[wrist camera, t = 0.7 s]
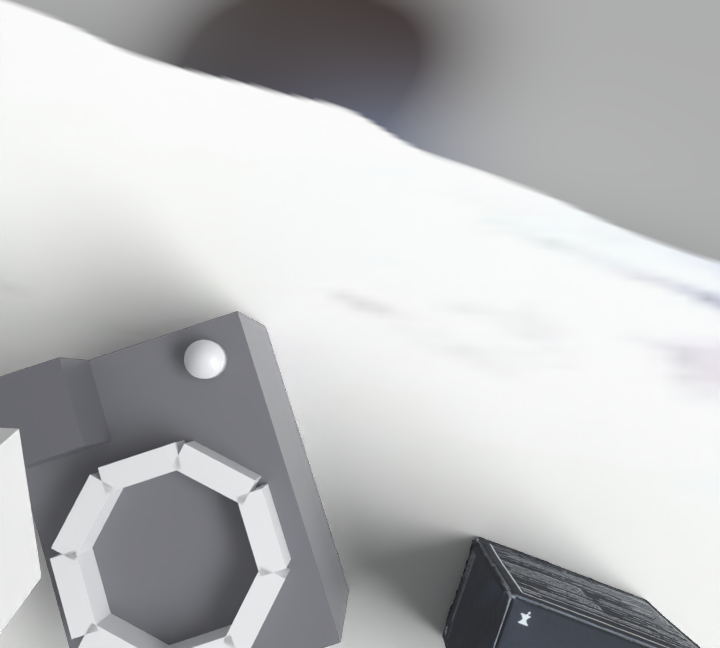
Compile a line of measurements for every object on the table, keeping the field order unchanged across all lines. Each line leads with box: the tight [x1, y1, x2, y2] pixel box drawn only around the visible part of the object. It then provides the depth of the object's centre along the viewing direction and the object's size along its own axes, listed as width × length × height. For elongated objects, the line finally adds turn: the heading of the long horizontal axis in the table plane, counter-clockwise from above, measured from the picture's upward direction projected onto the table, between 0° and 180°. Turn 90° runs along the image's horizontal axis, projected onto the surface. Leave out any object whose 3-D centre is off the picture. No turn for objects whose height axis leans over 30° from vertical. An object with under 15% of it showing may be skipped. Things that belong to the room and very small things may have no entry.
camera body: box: [0, 311, 349, 648], centre depth 34 cm, size 16×12×11 cm
